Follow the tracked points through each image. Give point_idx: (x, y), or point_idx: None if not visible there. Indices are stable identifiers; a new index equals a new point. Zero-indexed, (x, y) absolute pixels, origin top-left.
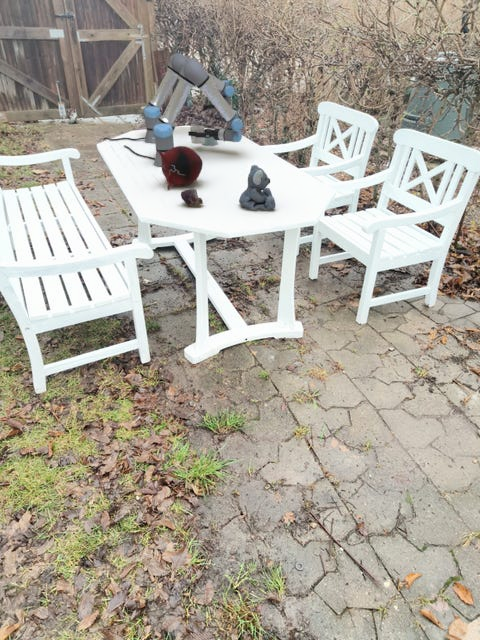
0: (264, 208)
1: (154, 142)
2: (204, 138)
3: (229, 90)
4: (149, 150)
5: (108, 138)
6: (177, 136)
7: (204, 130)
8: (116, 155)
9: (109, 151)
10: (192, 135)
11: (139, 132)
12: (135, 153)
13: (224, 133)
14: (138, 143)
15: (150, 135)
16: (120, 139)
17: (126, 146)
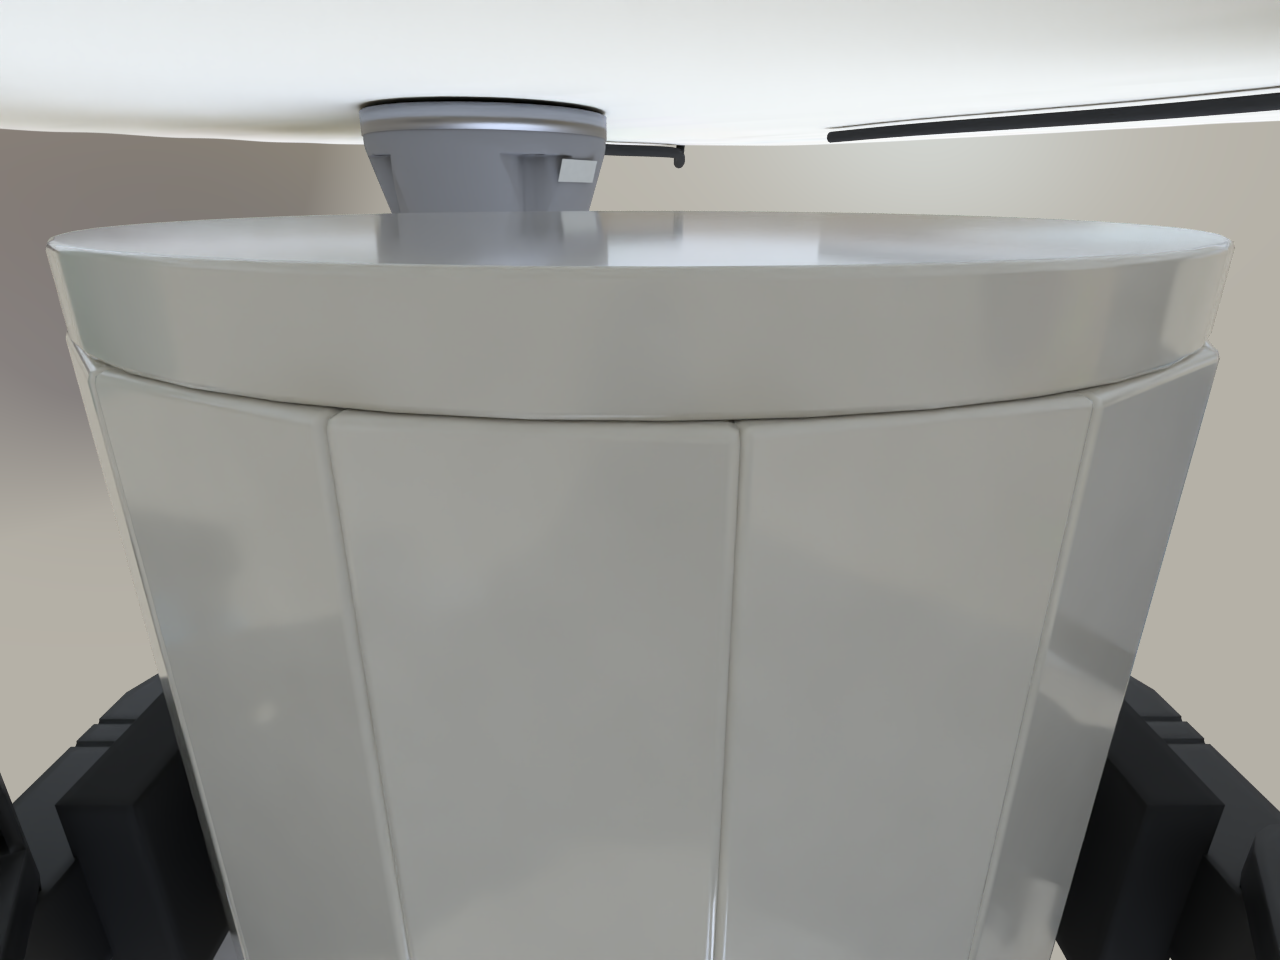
0: None
1: (586, 116)
2: (452, 780)
3: None
4: (984, 85)
5: (683, 163)
6: (93, 94)
7: (103, 938)
8: (1224, 115)
9: (1030, 130)
10: (1152, 695)
11: (352, 142)
12: (1218, 107)
13: None
14: (674, 123)
15: (590, 201)
16: (628, 145)
17: (870, 138)
